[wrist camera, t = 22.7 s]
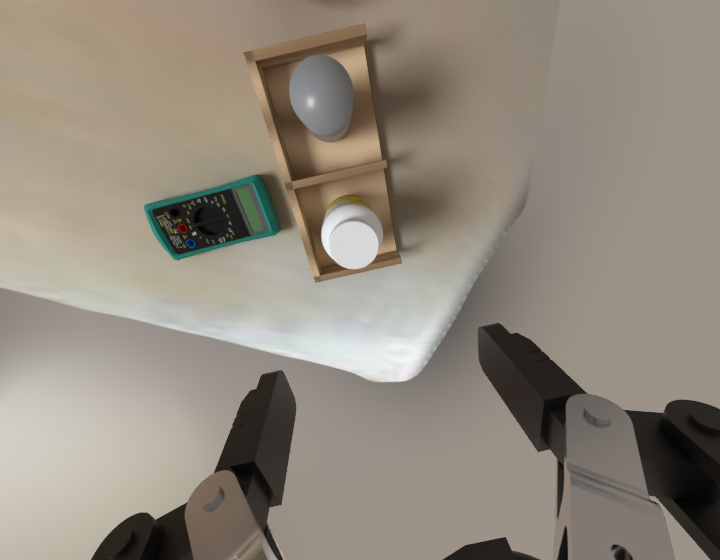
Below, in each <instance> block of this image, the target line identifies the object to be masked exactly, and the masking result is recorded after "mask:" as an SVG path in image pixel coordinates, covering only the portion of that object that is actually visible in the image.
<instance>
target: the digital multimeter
mask: <svg viewBox="0 0 720 560" xmlns="http://www.w3.org/2000/svg"><path fill="white" fill-rule="evenodd" d="M178 202H179V203H178ZM174 203H175V204H174ZM163 206H164V207H163ZM211 206H212V207H211ZM159 207H160V208H159ZM144 209H145V212H146V215H147V218H148V221H149V224H150V226H151V229H152V231H153V233H154V234H155V236H156V238H157V240H158V241H159V242H160V244H161V245H162V246H163V247H164V249H165V250H166V251H167V252H168V253H169V254H170V256H171V257H172V258H173V259H175V260H180V259H183V258H186V257H189V256H193V255H196V254H199V253H203V252H206V251H210V250H213V249H216V248H220V247H224V246H228V245H232V244H236V243H240V242H244V241H249V240H254V239H258V238H263V237H268V236H273V235H276V234H277V233H278V232H279V231H280V225H279V221H278V218H277V214H276V211H275V208H274V205H273V203H272V200H271V197H270V195H269V193H268V190H267V188H266V186H265V184H264V182H263V180H262V178H261V176H259V175H254V176H251V177H248V178H244V179H241V180H238V181H235V182H232V183H229V184H226V185H223V186H219V187H216V188H212V189H208V190H205V191H201V192H198V193H194V194H189V195H185V196H181V197H177V198H172V199H167V200H163V201H158V202H153V203H149V204H146V205H145V206H144Z"/></svg>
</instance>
